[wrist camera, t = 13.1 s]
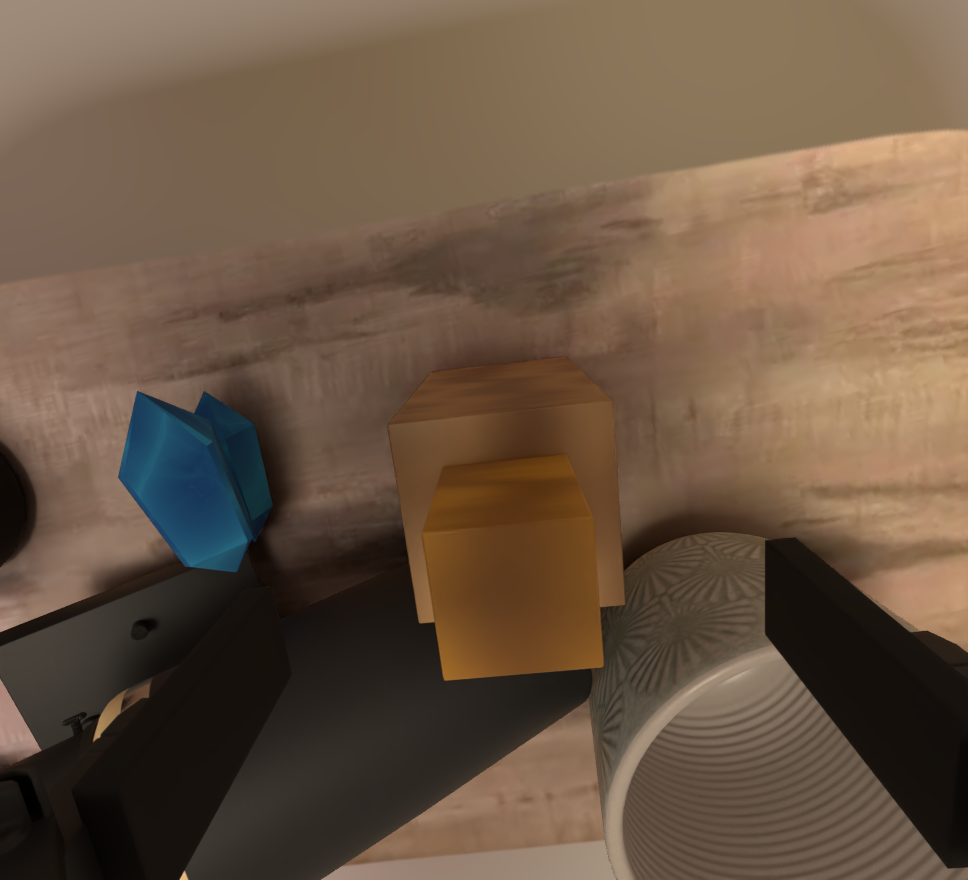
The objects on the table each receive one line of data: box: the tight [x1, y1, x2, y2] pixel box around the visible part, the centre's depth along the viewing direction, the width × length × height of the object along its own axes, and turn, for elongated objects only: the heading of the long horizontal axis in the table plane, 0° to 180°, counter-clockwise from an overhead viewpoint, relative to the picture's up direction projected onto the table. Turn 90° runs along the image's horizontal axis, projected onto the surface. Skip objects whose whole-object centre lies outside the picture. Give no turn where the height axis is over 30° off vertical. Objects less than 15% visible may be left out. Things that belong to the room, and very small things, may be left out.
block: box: [421, 454, 604, 681], centre depth 18 cm, size 4×4×6 cm
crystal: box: [118, 391, 273, 572], centre depth 32 cm, size 7×9×12 cm
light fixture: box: [0, 549, 592, 880], centre depth 30 cm, size 13×18×26 cm
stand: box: [387, 357, 625, 623], centre depth 28 cm, size 8×8×14 cm
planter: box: [589, 532, 968, 880], centre depth 30 cm, size 17×17×15 cm
